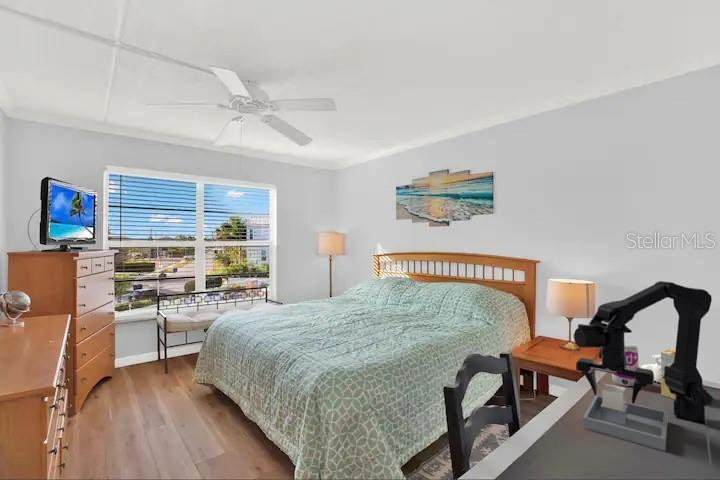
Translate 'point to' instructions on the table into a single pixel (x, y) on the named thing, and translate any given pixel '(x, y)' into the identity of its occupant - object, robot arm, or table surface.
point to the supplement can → (628, 365)
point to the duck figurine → (655, 367)
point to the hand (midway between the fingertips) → (614, 398)
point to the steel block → (614, 415)
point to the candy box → (666, 360)
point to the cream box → (614, 397)
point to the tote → (631, 424)
